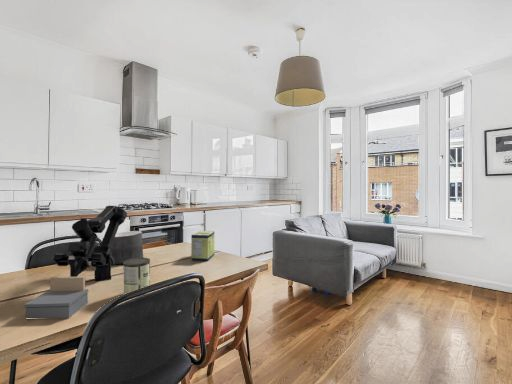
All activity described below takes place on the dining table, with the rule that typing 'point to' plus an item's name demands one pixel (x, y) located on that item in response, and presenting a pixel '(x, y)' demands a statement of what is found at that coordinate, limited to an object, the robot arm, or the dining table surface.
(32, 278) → the dining table surface
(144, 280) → the coffee can
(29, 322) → the dining table surface
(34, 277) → the dining table surface
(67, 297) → the lid
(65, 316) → the mailer box
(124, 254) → the planter
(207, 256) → the protein box
